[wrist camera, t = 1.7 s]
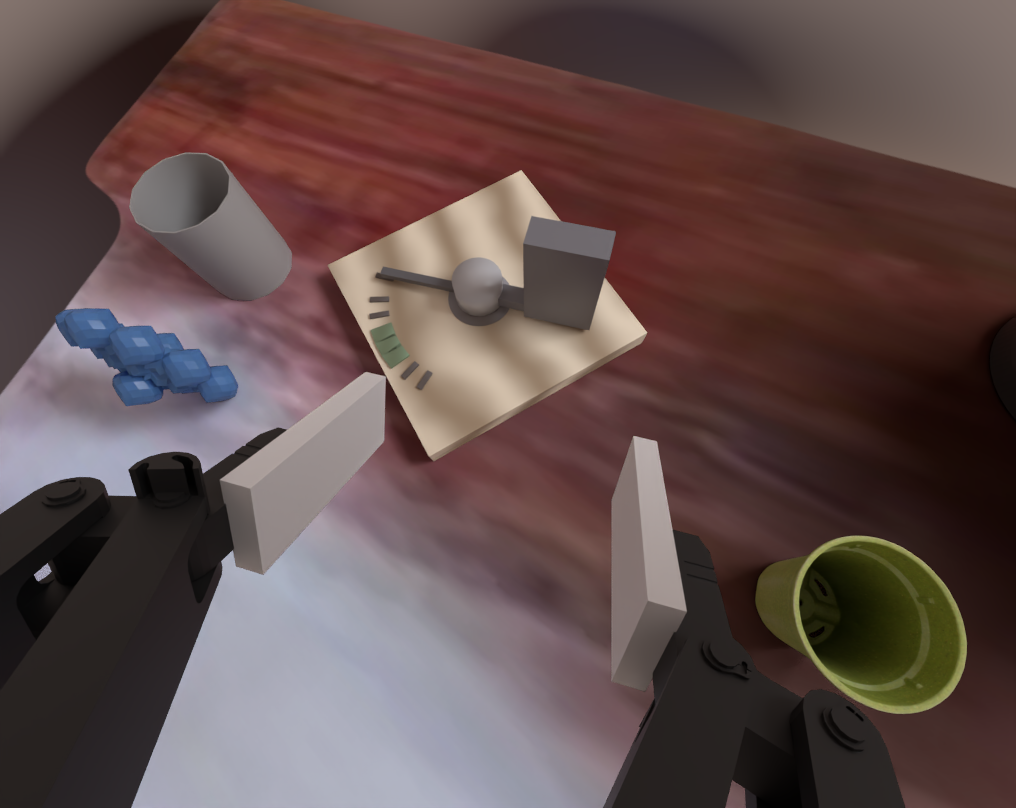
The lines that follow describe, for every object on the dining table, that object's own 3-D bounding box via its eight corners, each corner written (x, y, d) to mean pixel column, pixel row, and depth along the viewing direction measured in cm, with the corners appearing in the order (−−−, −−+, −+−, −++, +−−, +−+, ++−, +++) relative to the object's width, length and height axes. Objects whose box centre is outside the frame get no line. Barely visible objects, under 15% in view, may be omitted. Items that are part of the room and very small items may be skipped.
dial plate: (521, 185, 48) (521, 168, 45) (641, 342, 41) (647, 331, 39) (335, 277, 45) (326, 263, 43) (433, 461, 38) (428, 456, 36)
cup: (308, 253, 46) (251, 176, 36) (256, 313, 44) (181, 248, 34) (248, 221, 48) (178, 139, 38) (195, 278, 45) (108, 206, 36)
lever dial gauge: (376, 294, 41) (331, 218, 32) (391, 256, 42) (353, 171, 33) (587, 340, 39) (606, 272, 29) (596, 297, 40) (618, 219, 31)
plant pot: (786, 698, 32) (877, 751, 24) (705, 577, 35) (761, 585, 26) (885, 629, 33) (1004, 656, 25) (799, 517, 36) (881, 507, 28)
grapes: (129, 405, 41) (-22, 351, 30) (170, 344, 43) (42, 270, 32) (235, 446, 40) (117, 405, 28) (272, 380, 41) (176, 316, 30)
